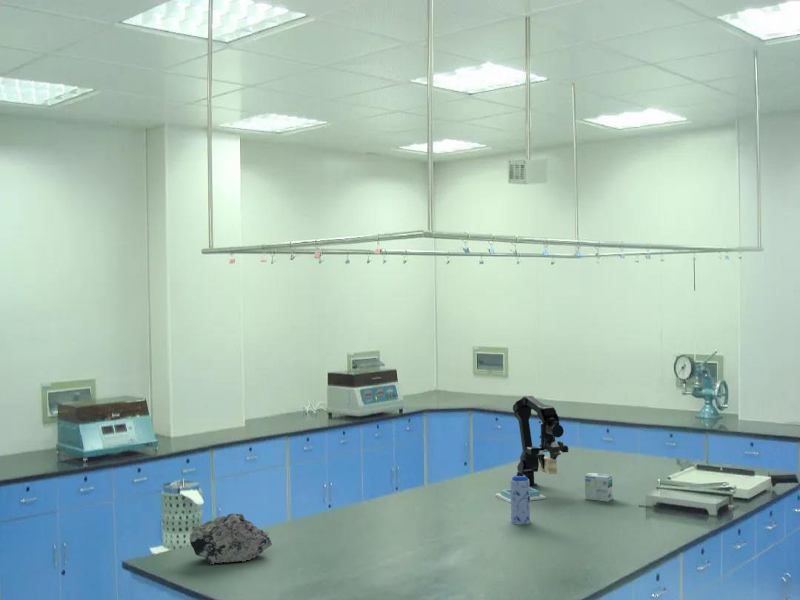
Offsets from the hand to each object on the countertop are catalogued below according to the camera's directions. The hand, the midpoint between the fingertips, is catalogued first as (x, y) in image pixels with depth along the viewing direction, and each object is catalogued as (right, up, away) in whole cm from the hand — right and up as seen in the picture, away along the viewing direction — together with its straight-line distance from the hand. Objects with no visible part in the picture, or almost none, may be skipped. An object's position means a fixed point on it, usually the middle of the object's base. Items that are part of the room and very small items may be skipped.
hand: (547, 468), depth 380 cm
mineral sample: (-127, -14, -88) cm, 155 cm away
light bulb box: (+21, -12, -11) cm, 26 cm away
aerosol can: (-19, -12, -47) cm, 52 cm away
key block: (0, -2, 0) cm, 2 cm away
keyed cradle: (-13, -12, -6) cm, 19 cm away
